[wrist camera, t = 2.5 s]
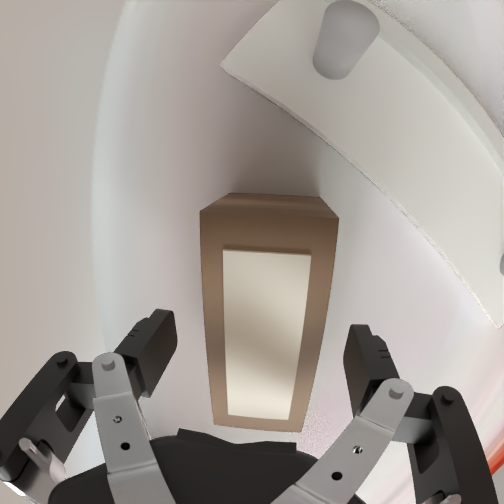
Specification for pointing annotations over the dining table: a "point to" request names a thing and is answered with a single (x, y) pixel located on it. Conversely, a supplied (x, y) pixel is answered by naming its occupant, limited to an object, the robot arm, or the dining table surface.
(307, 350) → the frame
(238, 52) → the board
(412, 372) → the dining table surface
